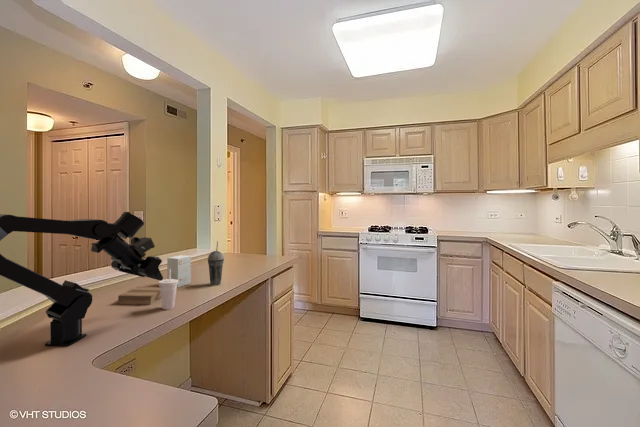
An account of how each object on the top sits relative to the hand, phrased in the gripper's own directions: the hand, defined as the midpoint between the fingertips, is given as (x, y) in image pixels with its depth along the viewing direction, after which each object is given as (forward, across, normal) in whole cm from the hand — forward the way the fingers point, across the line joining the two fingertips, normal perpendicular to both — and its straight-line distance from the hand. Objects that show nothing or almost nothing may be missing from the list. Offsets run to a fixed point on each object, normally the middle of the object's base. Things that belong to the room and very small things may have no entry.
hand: (153, 277), depth 103 cm
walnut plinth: (+14, +16, +3) cm, 22 cm away
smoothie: (+13, 0, +5) cm, 14 cm away
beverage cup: (+35, +9, -17) cm, 40 cm away
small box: (+28, +22, -11) cm, 38 cm away
